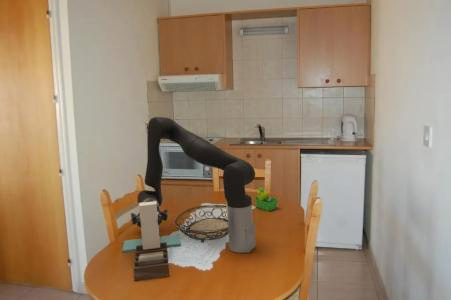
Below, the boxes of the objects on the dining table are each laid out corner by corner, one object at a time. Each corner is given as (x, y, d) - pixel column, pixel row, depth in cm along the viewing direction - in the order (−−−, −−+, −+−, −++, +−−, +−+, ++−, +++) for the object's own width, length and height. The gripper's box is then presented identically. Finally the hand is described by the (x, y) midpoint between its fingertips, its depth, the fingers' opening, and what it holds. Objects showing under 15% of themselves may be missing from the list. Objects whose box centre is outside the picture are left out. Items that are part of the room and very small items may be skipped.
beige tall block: (143, 245, 137) (139, 202, 135) (160, 243, 138) (156, 201, 136) (143, 249, 133) (139, 206, 131) (160, 247, 134) (156, 204, 132)
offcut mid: (140, 268, 128) (139, 256, 128) (164, 265, 130) (163, 253, 129) (140, 272, 126) (138, 259, 125) (164, 268, 127) (163, 256, 127)
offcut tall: (139, 274, 124) (138, 258, 123) (164, 271, 126) (163, 255, 125) (139, 277, 122) (138, 261, 121) (164, 274, 123) (163, 258, 123)
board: (124, 245, 152) (124, 240, 152) (179, 238, 156) (179, 234, 156) (122, 255, 142) (122, 250, 142) (181, 248, 146) (180, 243, 146)
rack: (137, 258, 139) (136, 245, 138) (167, 254, 141) (166, 242, 140) (134, 283, 120) (133, 268, 120) (169, 278, 122) (168, 264, 122)
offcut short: (140, 263, 132) (139, 254, 132) (163, 260, 134) (162, 251, 133) (140, 266, 130) (139, 257, 129) (163, 263, 131) (163, 254, 131)
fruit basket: (279, 209, 189) (278, 187, 187) (266, 213, 184) (265, 190, 182) (264, 204, 198) (264, 183, 197) (251, 207, 194) (250, 186, 192)
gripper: (130, 202, 146) (127, 215, 130) (167, 198, 149) (169, 210, 133) (131, 220, 148) (129, 236, 131) (168, 216, 150) (170, 231, 134)
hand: (149, 223), depth 132 cm, fingers closed on beige tall block, 6 cm apart
